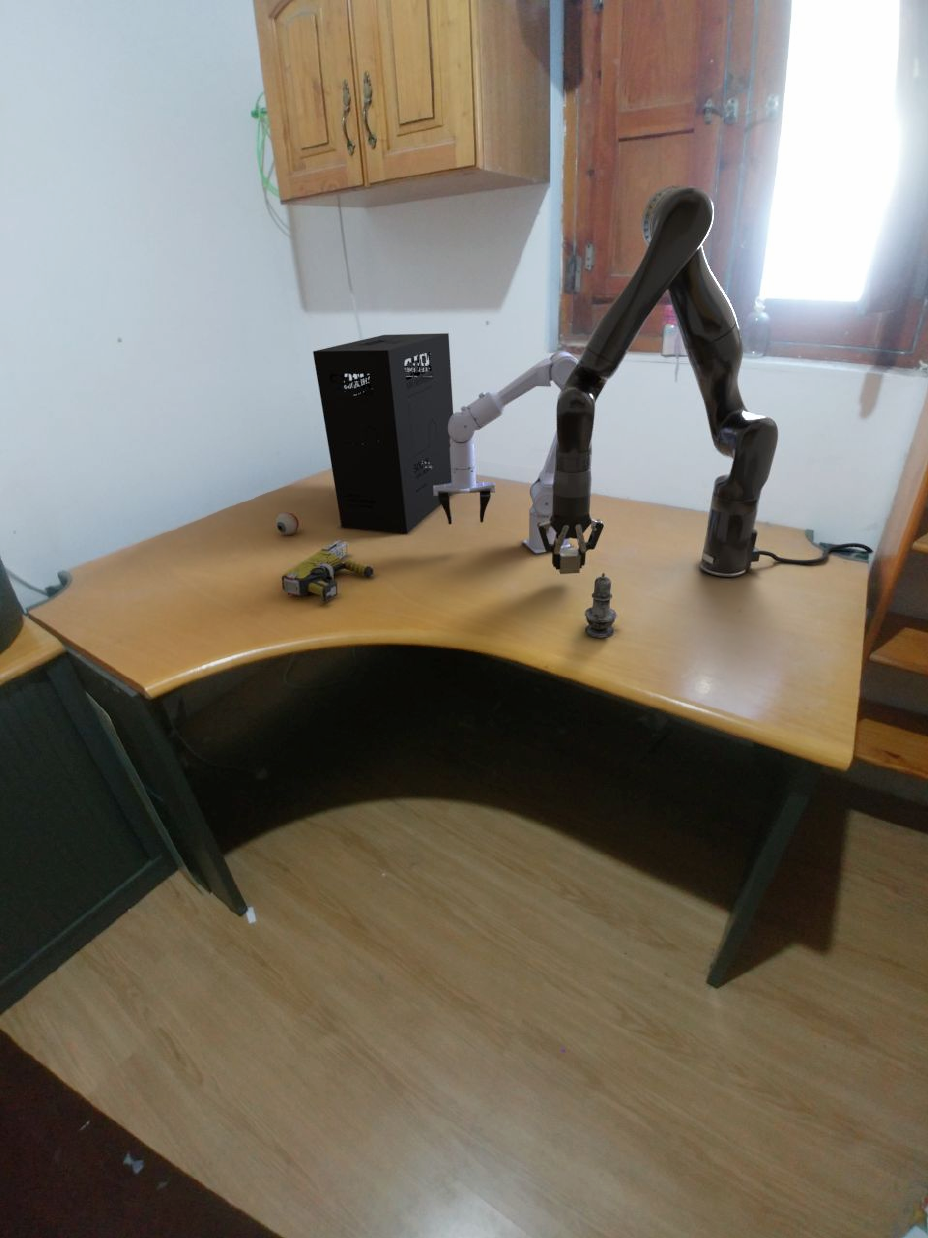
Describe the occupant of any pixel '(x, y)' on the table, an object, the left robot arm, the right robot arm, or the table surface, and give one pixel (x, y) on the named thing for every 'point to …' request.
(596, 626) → the grey stone finial
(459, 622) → the table surface
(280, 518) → the eyeball
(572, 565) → the grey cube
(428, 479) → the cardboard box
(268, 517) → the table surface
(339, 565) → the toy gun
